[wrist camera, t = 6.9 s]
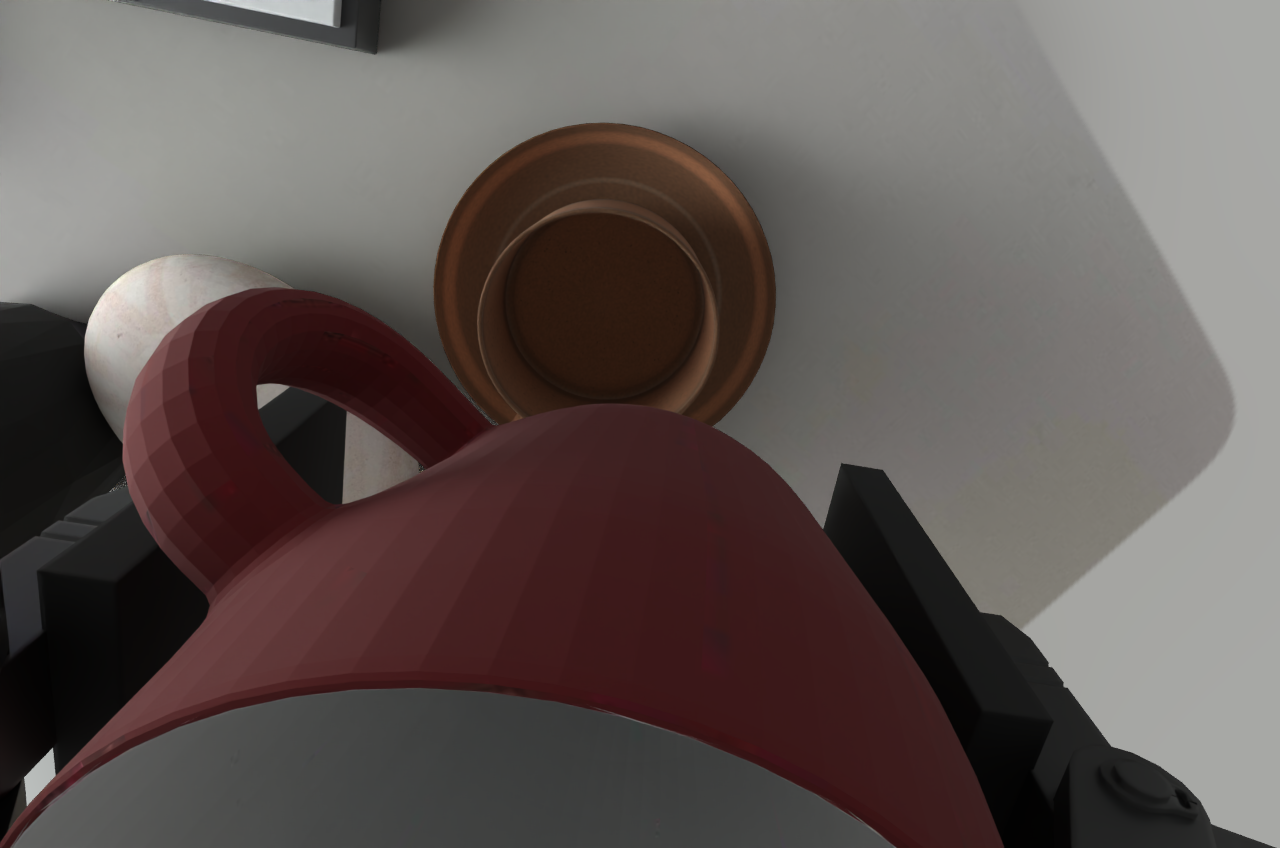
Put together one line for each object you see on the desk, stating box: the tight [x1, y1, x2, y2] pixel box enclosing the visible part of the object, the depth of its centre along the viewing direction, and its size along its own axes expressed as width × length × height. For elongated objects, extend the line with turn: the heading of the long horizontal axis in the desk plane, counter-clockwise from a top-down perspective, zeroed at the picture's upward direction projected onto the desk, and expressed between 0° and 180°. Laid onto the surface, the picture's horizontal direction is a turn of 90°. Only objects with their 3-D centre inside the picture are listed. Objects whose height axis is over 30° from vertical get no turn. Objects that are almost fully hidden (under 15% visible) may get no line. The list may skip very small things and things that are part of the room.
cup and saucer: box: [433, 123, 776, 427], centre depth 28 cm, size 12×12×6 cm
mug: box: [0, 287, 1004, 848], centre depth 10 cm, size 11×8×10 cm
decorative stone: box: [84, 254, 419, 504], centre depth 30 cm, size 13×9×5 cm
